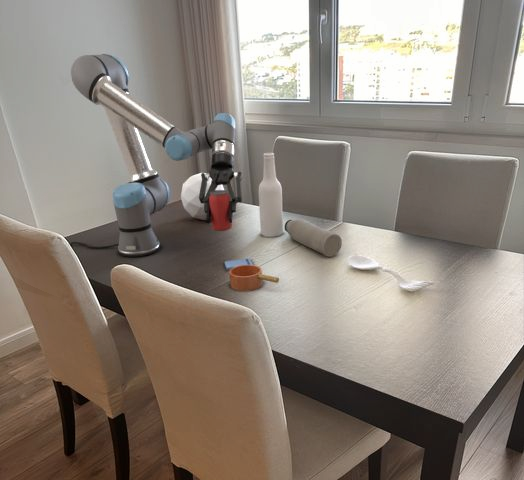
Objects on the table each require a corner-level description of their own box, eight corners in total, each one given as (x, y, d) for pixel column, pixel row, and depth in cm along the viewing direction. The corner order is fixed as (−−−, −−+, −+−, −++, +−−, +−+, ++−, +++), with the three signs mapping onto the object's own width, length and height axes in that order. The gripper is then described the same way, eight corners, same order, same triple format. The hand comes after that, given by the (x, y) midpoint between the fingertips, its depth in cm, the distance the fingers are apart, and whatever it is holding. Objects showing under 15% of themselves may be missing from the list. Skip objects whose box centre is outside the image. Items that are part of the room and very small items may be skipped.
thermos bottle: (345, 243, 169) (302, 224, 191) (334, 229, 164) (290, 210, 186) (330, 261, 170) (288, 240, 191) (318, 247, 164) (277, 227, 186)
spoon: (410, 299, 137) (411, 288, 136) (340, 265, 162) (341, 255, 160) (433, 291, 141) (435, 280, 139) (362, 259, 165) (362, 249, 163)
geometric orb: (211, 236, 216) (203, 207, 198) (177, 215, 222) (166, 185, 203) (237, 206, 221) (231, 176, 203) (203, 187, 227) (195, 155, 208)
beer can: (217, 233, 159) (213, 195, 153) (209, 228, 164) (205, 191, 158) (235, 229, 162) (232, 192, 156) (227, 224, 167) (223, 188, 161)
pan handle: (256, 279, 148) (256, 274, 147) (259, 277, 149) (259, 272, 148) (276, 283, 144) (276, 278, 144) (279, 281, 146) (279, 276, 145)
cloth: (224, 263, 168) (224, 261, 168) (249, 260, 169) (249, 258, 169) (226, 270, 163) (226, 267, 163) (252, 266, 164) (252, 264, 164)
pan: (224, 286, 151) (222, 273, 149) (242, 275, 158) (241, 262, 156) (250, 293, 146) (249, 279, 144) (268, 281, 153) (268, 267, 151)
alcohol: (287, 232, 194) (285, 151, 179) (275, 238, 188) (272, 156, 173) (268, 229, 199) (265, 150, 183) (256, 235, 192) (252, 154, 177)
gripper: (191, 152, 161) (186, 216, 156) (250, 150, 159) (247, 214, 154) (196, 166, 168) (192, 227, 163) (253, 164, 166) (250, 226, 161)
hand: (219, 221), depth 158 cm, fingers closed on beer can, 7 cm apart
